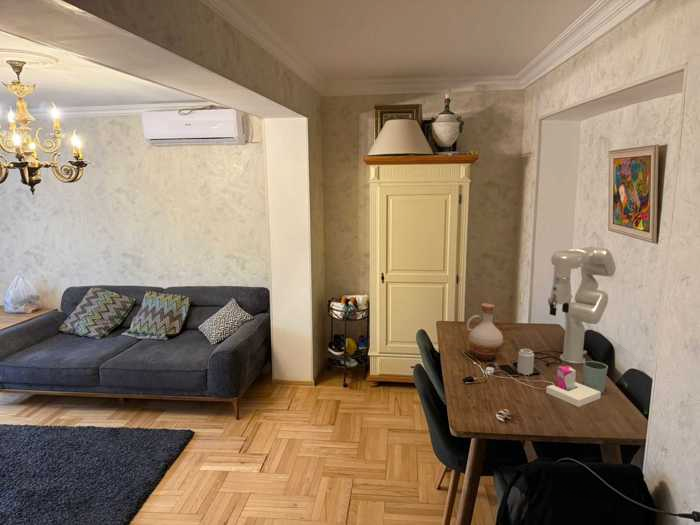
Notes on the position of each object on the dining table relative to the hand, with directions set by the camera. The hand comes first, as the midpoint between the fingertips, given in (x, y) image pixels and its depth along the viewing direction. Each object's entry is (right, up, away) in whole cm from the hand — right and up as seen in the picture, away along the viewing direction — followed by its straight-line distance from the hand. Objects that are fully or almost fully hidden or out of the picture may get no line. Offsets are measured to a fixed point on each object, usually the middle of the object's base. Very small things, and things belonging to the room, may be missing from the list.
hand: (559, 313), depth 238 cm
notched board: (-3, -35, -22) cm, 41 cm away
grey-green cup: (+9, -34, -15) cm, 38 cm away
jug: (-31, -27, +24) cm, 47 cm away
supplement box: (-5, -34, -18) cm, 39 cm away
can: (-16, -31, +3) cm, 35 cm away
